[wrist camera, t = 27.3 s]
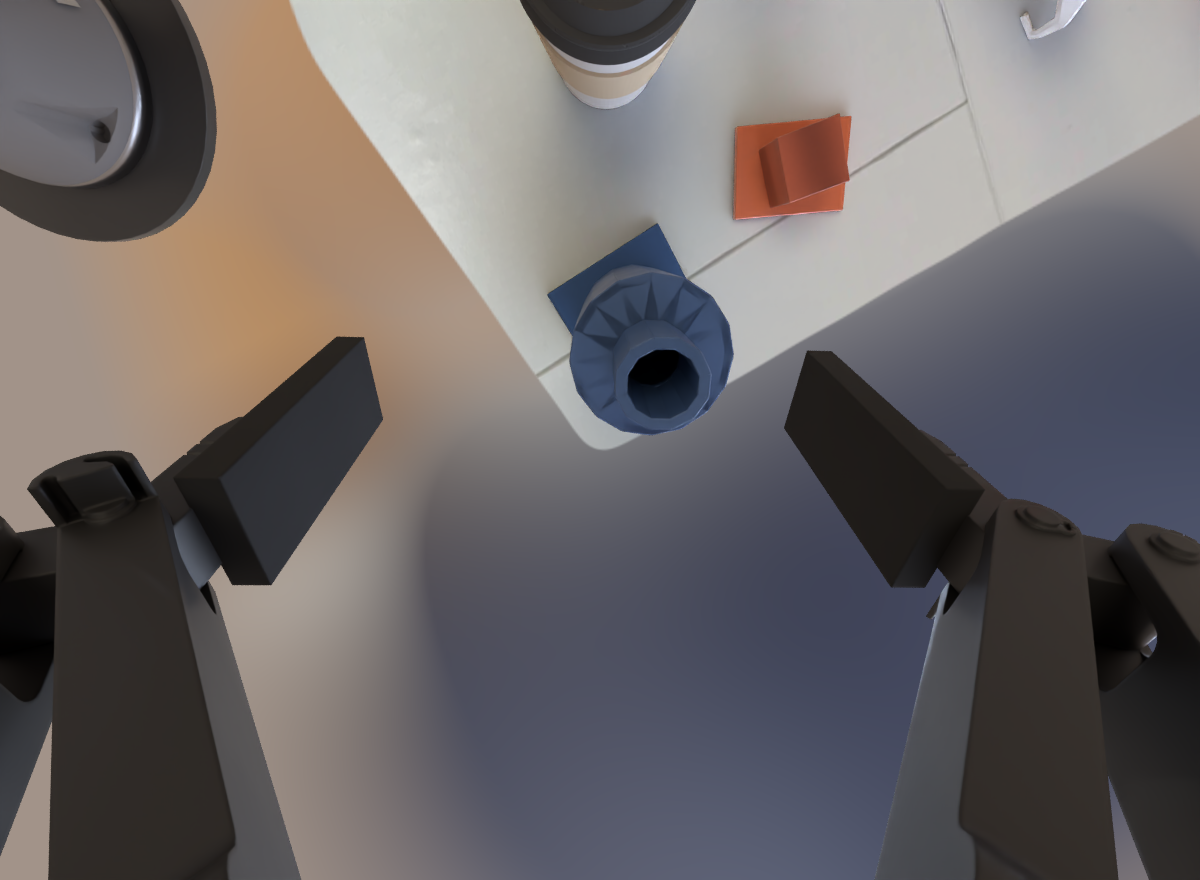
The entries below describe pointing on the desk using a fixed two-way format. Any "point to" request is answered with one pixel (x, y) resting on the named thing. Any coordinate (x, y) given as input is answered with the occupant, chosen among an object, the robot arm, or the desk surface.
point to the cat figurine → (1065, 11)
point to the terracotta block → (804, 162)
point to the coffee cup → (607, 43)
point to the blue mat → (638, 251)
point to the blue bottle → (649, 350)
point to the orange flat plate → (751, 179)
